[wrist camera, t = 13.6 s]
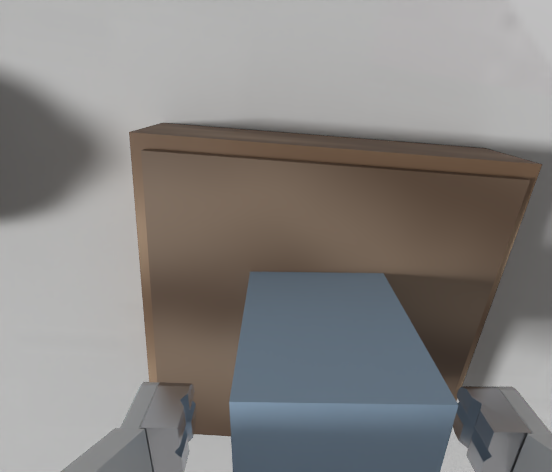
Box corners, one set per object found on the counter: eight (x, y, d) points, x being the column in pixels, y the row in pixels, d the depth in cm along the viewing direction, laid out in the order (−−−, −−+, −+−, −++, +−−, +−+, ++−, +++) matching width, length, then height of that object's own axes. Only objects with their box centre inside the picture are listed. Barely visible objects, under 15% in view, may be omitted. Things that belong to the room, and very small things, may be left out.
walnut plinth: (413, 390, 21) (442, 456, 17) (173, 375, 20) (150, 438, 17) (485, 148, 15) (550, 166, 12) (162, 122, 15) (124, 133, 11)
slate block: (368, 376, 15) (420, 541, 10) (252, 374, 15) (236, 538, 10) (383, 273, 13) (458, 405, 8) (250, 271, 13) (229, 401, 8)
